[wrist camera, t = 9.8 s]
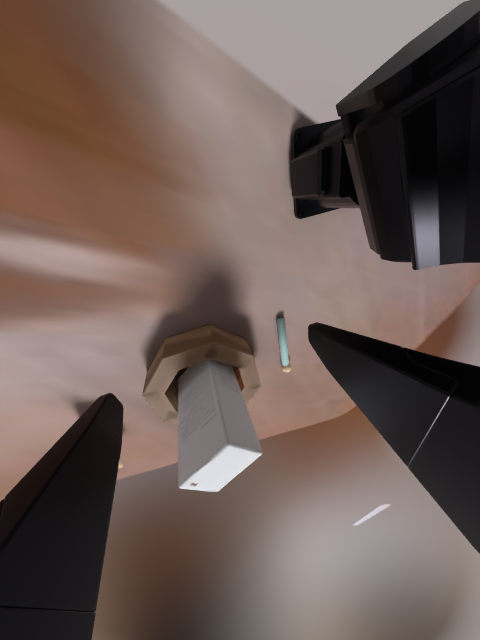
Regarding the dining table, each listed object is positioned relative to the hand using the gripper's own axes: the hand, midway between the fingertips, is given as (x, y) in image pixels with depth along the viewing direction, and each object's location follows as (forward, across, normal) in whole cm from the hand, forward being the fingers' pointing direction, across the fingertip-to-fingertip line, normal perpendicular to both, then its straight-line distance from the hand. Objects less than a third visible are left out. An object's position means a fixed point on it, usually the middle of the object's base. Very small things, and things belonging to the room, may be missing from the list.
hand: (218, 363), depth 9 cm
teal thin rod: (+13, -8, +12) cm, 19 cm away
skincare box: (+13, +3, +12) cm, 18 cm away
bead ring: (+13, +3, +12) cm, 18 cm away
